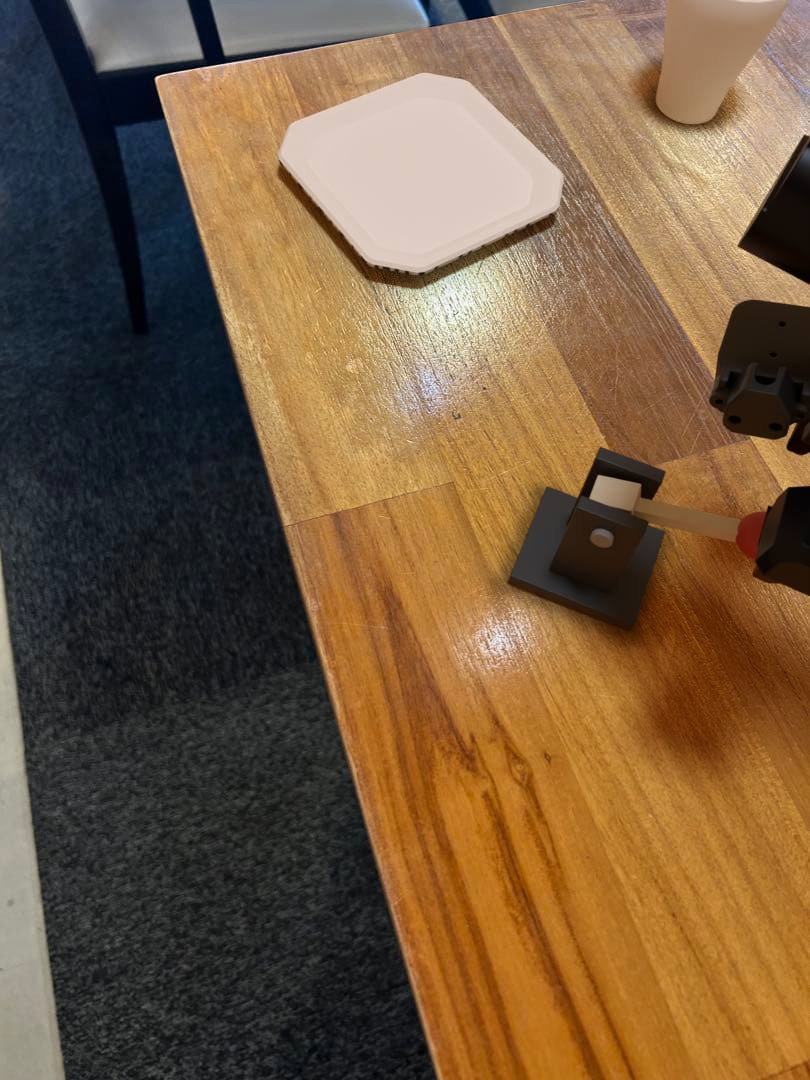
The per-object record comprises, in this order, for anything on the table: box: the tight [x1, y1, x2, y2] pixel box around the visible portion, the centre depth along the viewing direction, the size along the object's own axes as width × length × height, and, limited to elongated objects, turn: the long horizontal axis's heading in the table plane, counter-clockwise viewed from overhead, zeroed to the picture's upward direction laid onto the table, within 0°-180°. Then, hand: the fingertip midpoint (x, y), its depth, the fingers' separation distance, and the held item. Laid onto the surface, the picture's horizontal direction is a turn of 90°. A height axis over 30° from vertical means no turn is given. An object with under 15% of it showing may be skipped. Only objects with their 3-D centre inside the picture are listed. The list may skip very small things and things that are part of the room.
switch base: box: [507, 446, 666, 633], centre depth 63 cm, size 9×8×10 cm
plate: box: [277, 72, 565, 276], centre depth 84 cm, size 21×21×2 cm
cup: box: [655, 0, 790, 125], centre depth 87 cm, size 10×10×14 cm
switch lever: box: [589, 475, 766, 561], centre depth 59 cm, size 12×3×3 cm, turn 67°
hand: (778, 511), depth 55 cm, fingers open, 9 cm apart
